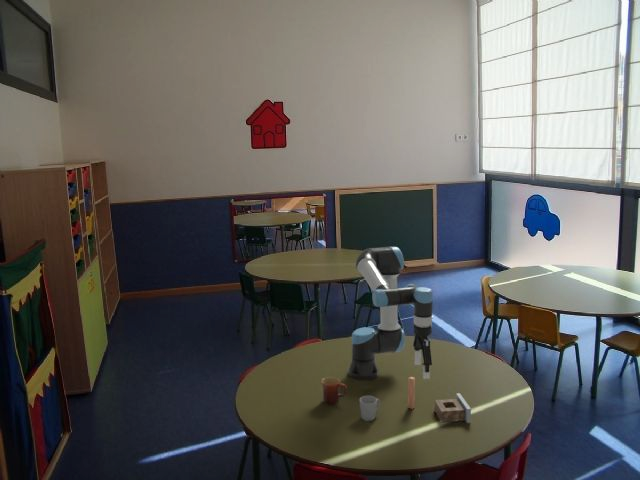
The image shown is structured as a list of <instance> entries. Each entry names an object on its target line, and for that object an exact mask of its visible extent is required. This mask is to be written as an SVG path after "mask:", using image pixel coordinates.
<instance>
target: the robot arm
mask: <svg viewBox="0 0 640 480" xmlns="http://www.w3.org/2000/svg"><path fill="white" fill-rule="evenodd" d="M404 266H405V260H404V255H403V252H402V251H401V249H400V248H399V247H397V246H381V247H369V248H366V249H364V250H362V251H361V252H360V253H359V254H358V256H357V258H356V260H355V268H356V271H357V272H358V274H359V275H361V276H362V277H363V278H364V280H365V281H366V282H367V284H368V286H369V287H370V289H371V291H372V294H371V296H372V297H371V298H372V300H371V301H372V304H373V306H375V307H376V308H380V310H379V311H380V323H379V324H378V325H377V330H375V329H374V328H373V327H366V326H365V327H364V326H363V327H360V328H356V329H355V330H354V331H352V333H351V341H350V342H351V361H350V365H349V366H348V367H349V368H348V376H349V377H351V378H352V379H355V380H359V381H368V380H373V379H376V378H377V377H379V368H378V365H377V363H376V355H380V354H381V355H382V354H390V353H393V354H394V353H398V352H401V351H402V350H403V349H404V347H405V343H406V335H405V334H406V333H405V331H404V329H403V328H402V326H401V325H400V324H399V323H398V322H399V321H398V317H399V316H398V306H408V305H411V306H413V309H414V310H413V334H415V335H414V339H413V345H412V346H413V348H414V360H413V361H414V362H413V363H414V364H413V365H414V366H419V365H422V379H423V380H430V377H431V376H430V375H431V366H432V365H433V362H432V353H431V352H432V351H431V341H430V340H429V338H428V337H429V336H431V334H432V332H433V331H432V330H433V319H434V316H433V302H434V295H433V290H432V289H431V288H428V287H425V286H424V287H423V286H422V287H421V286H420V287H419V286H417V285H415V284H412V283H411V284H410V283H409V284H407V285H405V286H404V287H398V276H399V275H400V273H401V271H402V270H404V268H405V267H404ZM422 359H423V363H422Z"/></svg>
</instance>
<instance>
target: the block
mask: <svg viewBox="0 0 640 480" xmlns="http://www.w3.org/2000/svg"><path fill="white" fill-rule="evenodd" d="M434 412H435V414H436V413H437V414H436V415H437V417H438V419H439V418H440V419H439V421H440V420H441V421H440V422H441V423H447V422H446V421H451V422H457V421H456V420H464V419H465V410H464V408H463V407H462V405H461V404H460V402H459V401H458V400H457V399H456V398H448V399H434ZM443 421H445V422H443ZM464 421H465V420H464Z"/></svg>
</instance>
